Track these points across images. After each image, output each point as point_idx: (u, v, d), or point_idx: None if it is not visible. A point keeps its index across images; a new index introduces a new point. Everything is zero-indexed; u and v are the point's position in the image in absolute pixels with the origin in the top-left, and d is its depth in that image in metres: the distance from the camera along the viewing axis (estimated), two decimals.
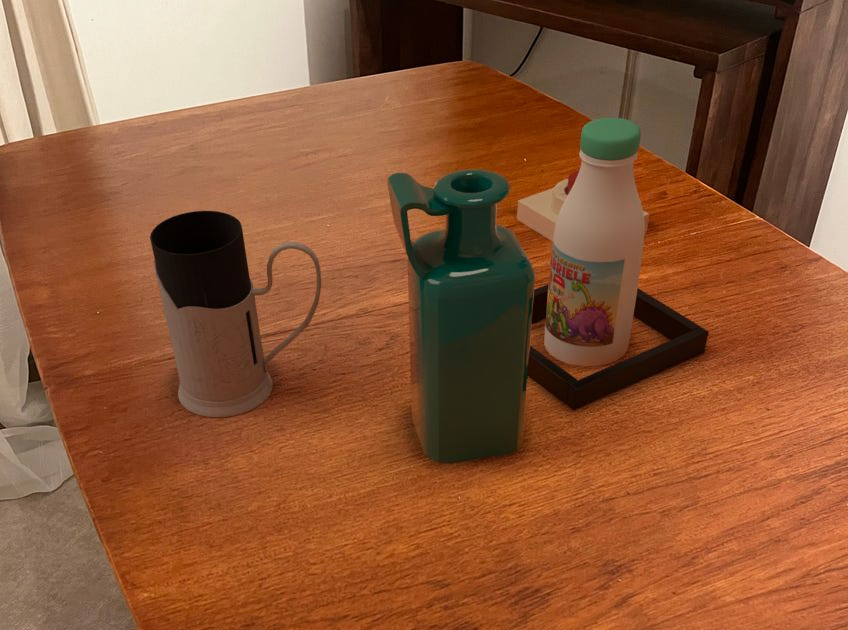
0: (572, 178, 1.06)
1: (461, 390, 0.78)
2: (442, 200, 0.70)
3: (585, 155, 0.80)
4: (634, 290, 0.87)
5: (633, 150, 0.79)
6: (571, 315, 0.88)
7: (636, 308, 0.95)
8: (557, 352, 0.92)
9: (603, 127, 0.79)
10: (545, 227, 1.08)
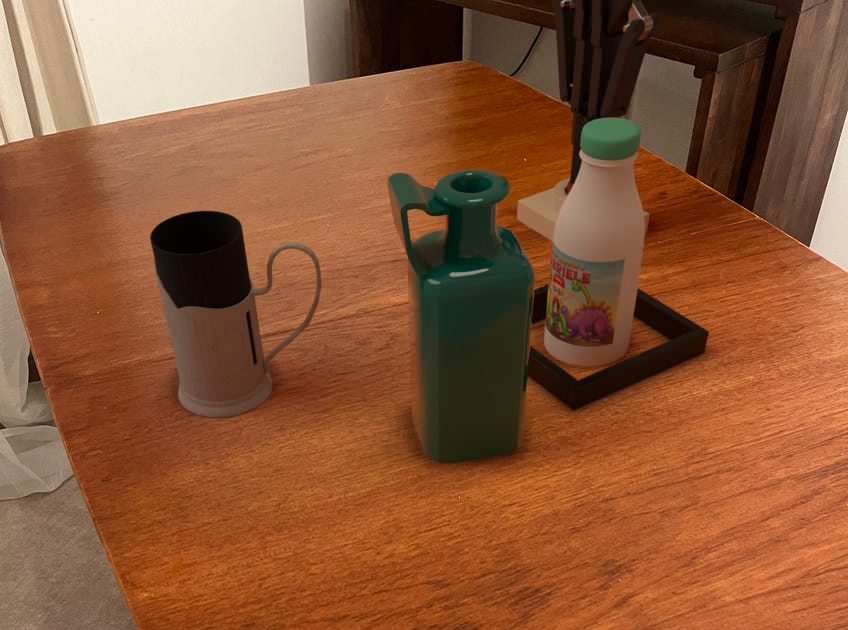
0: (571, 184, 1.07)
1: (461, 390, 0.78)
2: (442, 200, 0.70)
3: (585, 155, 0.80)
4: (634, 290, 0.87)
5: (633, 150, 0.79)
6: (571, 315, 0.88)
7: (636, 308, 0.95)
8: (557, 352, 0.92)
9: (603, 127, 0.79)
10: (545, 227, 1.08)
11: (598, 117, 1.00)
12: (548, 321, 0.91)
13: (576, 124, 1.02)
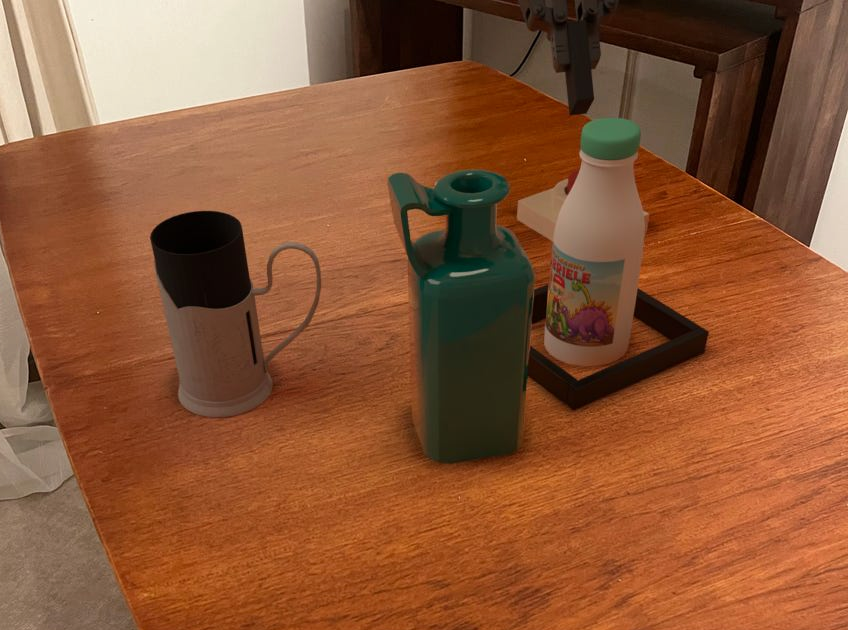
0: (572, 178, 1.06)
1: (461, 390, 0.78)
2: (442, 200, 0.70)
3: (585, 155, 0.80)
4: (634, 290, 0.87)
5: (633, 150, 0.79)
6: (571, 315, 0.88)
7: (636, 308, 0.95)
8: (557, 352, 0.92)
9: (603, 127, 0.79)
10: (545, 227, 1.08)
11: None
12: (548, 321, 0.91)
13: (571, 29, 0.85)
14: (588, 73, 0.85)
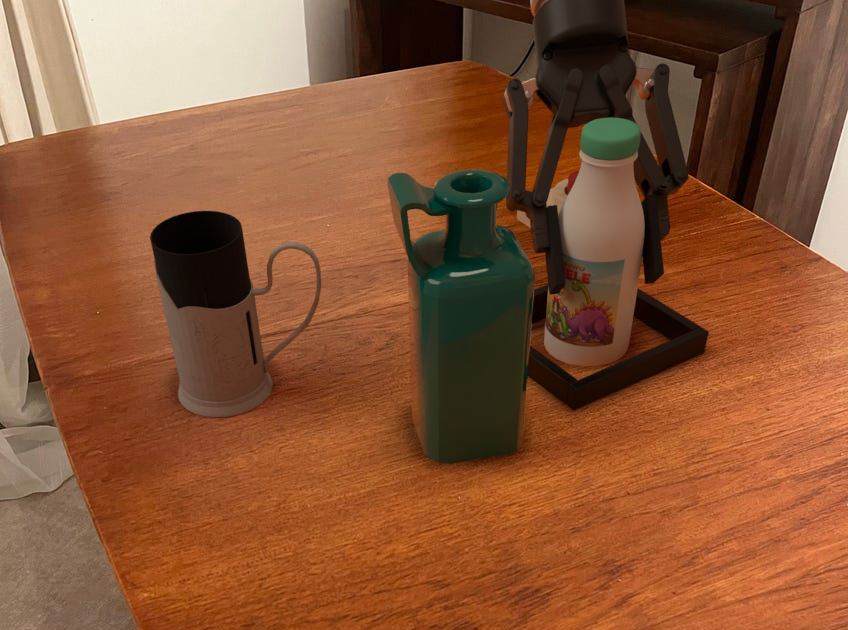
0: (572, 178, 1.06)
1: (461, 390, 0.78)
2: (442, 200, 0.70)
3: (585, 155, 0.80)
4: (634, 290, 0.87)
5: (633, 150, 0.79)
6: (571, 315, 0.88)
7: (636, 308, 0.95)
8: (557, 352, 0.92)
9: (603, 127, 0.79)
10: None
11: None
12: (548, 321, 0.91)
13: (551, 213, 0.84)
14: (658, 248, 0.84)
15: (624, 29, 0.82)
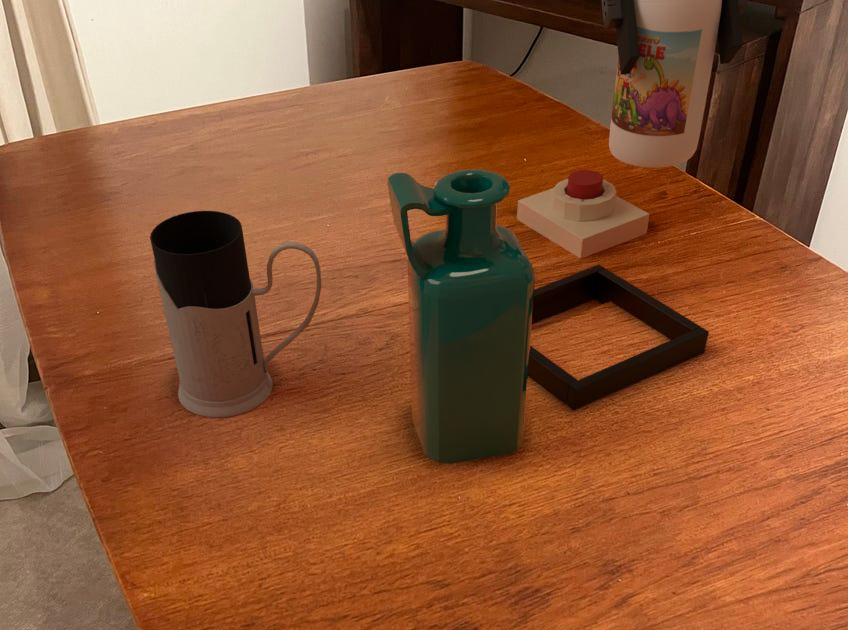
0: (572, 178, 1.06)
1: (461, 390, 0.78)
2: (442, 200, 0.70)
3: None
4: (708, 71, 0.83)
5: None
6: (642, 99, 0.84)
7: (636, 308, 0.95)
8: (624, 147, 0.88)
9: None
10: (545, 227, 1.08)
11: None
12: (615, 113, 0.87)
13: None
14: (736, 18, 0.80)
15: None
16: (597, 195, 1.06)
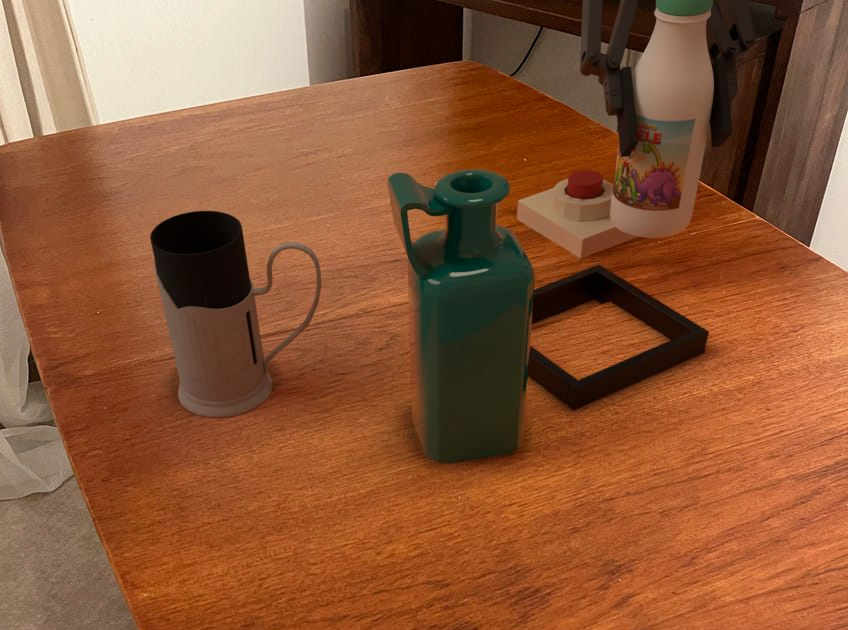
0: (572, 178, 1.06)
1: (461, 390, 0.78)
2: (442, 200, 0.70)
3: (661, 13, 0.84)
4: (701, 153, 0.91)
5: (708, 6, 0.83)
6: (641, 178, 0.92)
7: (636, 308, 0.95)
8: (624, 219, 0.96)
9: None
10: (545, 227, 1.08)
11: None
12: (616, 188, 0.95)
13: (625, 74, 0.88)
14: (727, 108, 0.88)
15: None
16: (597, 195, 1.06)
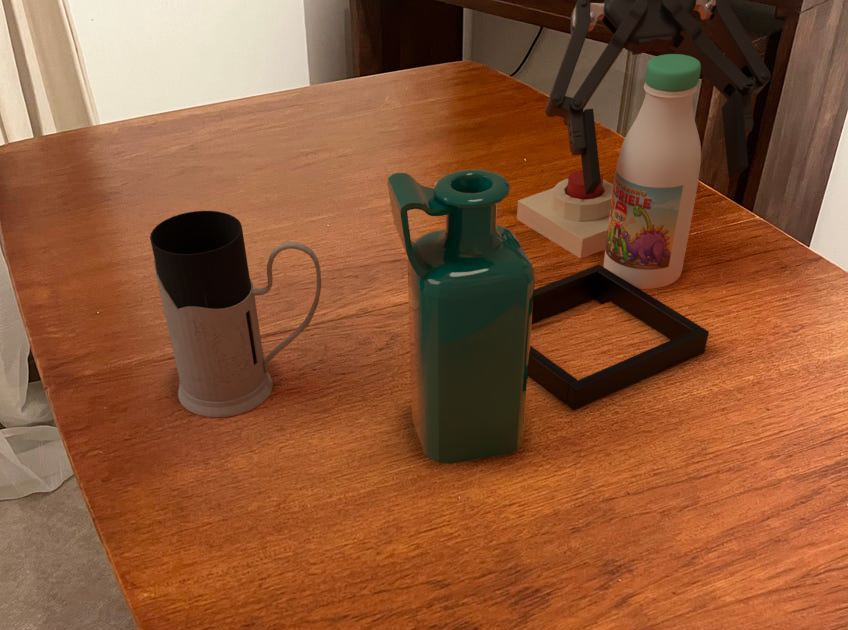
0: (572, 178, 1.06)
1: (461, 390, 0.78)
2: (442, 200, 0.70)
3: (650, 87, 0.88)
4: (689, 216, 0.96)
5: (694, 82, 0.87)
6: (632, 239, 0.96)
7: (636, 308, 0.95)
8: None
9: (666, 62, 0.88)
10: (545, 227, 1.08)
11: None
12: (609, 247, 0.99)
13: (587, 116, 0.91)
14: (743, 142, 0.92)
15: None
16: (597, 195, 1.06)
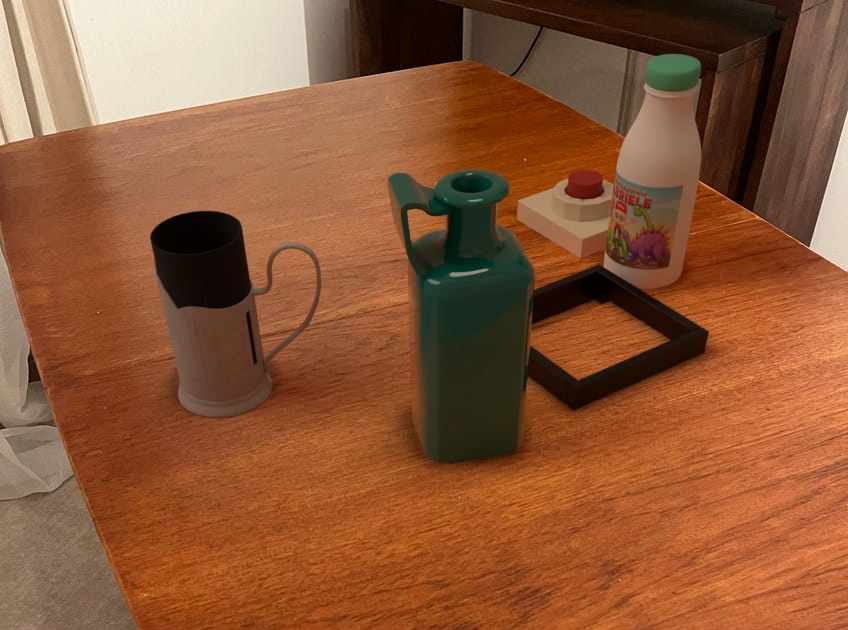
0: (572, 178, 1.06)
1: (461, 390, 0.78)
2: (442, 200, 0.70)
3: (650, 87, 0.88)
4: (690, 216, 0.96)
5: (694, 82, 0.87)
6: (632, 239, 0.96)
7: (636, 308, 0.95)
8: None
9: (667, 61, 0.88)
10: (545, 227, 1.08)
11: None
12: (609, 247, 0.99)
13: None
14: None
15: None
16: (597, 195, 1.06)
